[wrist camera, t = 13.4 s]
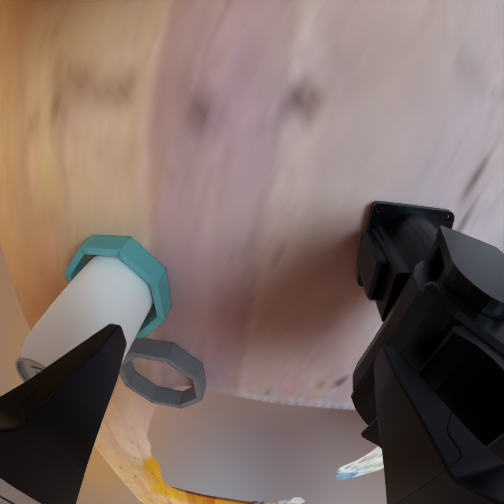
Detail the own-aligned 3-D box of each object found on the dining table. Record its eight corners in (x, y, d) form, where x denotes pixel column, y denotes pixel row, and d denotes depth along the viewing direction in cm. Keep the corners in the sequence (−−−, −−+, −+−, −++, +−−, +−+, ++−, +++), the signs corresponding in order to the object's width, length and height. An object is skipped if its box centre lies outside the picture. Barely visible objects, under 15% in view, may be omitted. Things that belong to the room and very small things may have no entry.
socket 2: (200, 346, 27) (195, 362, 26) (208, 397, 32) (204, 412, 30) (116, 333, 28) (108, 347, 26) (136, 385, 32) (131, 397, 31)
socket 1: (161, 238, 22) (151, 252, 20) (176, 327, 26) (169, 342, 25) (69, 233, 23) (56, 245, 21) (93, 314, 27) (84, 327, 25)
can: (104, 308, 27) (43, 408, 16) (81, 248, 23) (-6, 345, 13) (165, 312, 26) (112, 431, 15) (146, 246, 23) (62, 365, 12)
